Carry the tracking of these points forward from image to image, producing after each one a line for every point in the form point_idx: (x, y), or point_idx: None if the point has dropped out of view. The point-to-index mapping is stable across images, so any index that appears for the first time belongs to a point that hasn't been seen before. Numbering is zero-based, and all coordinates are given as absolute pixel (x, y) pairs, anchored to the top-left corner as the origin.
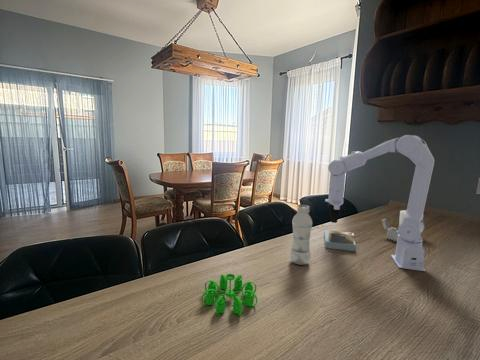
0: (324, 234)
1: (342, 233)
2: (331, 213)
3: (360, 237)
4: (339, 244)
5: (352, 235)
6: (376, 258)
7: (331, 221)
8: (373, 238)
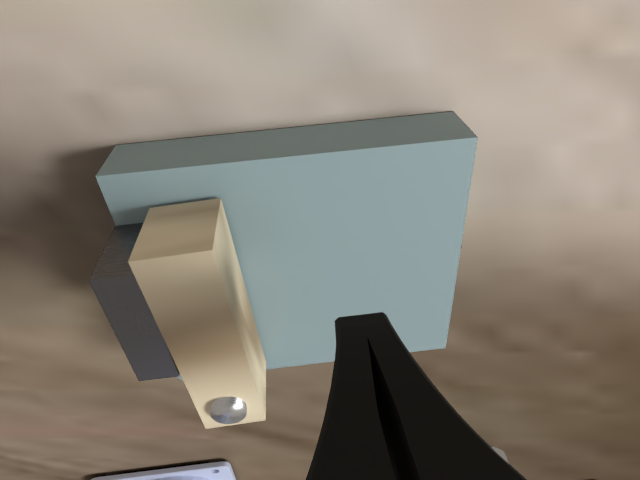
0: (380, 136)
1: (193, 362)
2: (316, 464)
3: (474, 356)
4: None
5: (201, 417)
6: (149, 417)
7: (336, 329)
8: (472, 406)
